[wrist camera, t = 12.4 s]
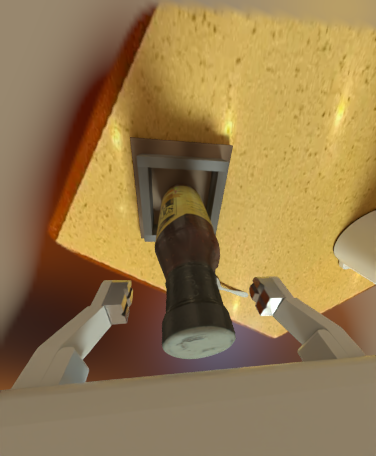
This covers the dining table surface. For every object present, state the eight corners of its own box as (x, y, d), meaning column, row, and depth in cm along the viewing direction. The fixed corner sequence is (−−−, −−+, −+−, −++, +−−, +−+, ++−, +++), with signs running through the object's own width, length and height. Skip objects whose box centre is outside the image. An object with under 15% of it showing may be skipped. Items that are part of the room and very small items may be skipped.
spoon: (202, 268, 35) (203, 273, 34) (258, 293, 43) (261, 298, 41) (192, 279, 37) (193, 284, 36) (248, 301, 44) (251, 306, 43)
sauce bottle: (164, 178, 22) (141, 301, 5) (204, 186, 24) (286, 307, 7) (159, 216, 26) (135, 369, 9) (194, 222, 27) (233, 365, 10)
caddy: (230, 145, 22) (243, 146, 18) (213, 235, 30) (219, 249, 26) (132, 137, 20) (122, 136, 16) (142, 234, 28) (137, 250, 24)
